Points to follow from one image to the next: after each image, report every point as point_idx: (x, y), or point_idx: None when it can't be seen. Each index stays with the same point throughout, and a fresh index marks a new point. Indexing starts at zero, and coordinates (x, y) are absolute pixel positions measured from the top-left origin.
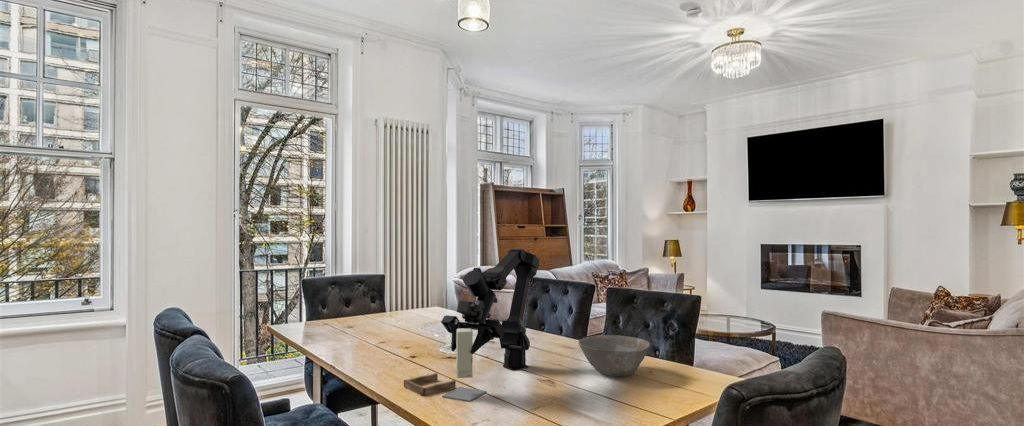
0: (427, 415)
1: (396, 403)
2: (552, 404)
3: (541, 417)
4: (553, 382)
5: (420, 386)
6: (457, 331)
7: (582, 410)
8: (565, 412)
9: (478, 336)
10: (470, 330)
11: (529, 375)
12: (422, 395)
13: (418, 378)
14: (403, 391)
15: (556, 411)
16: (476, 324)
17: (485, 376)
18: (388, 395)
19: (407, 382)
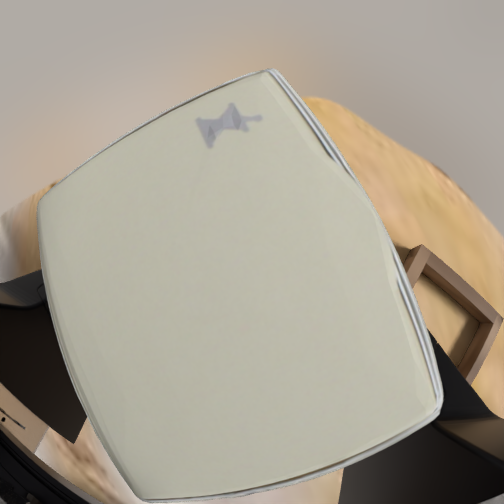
0: (309, 106)
1: (438, 171)
2: (35, 267)
3: (54, 182)
4: (63, 438)
5: (439, 268)
6: (316, 123)
7: (4, 245)
8: (22, 225)
9: (40, 280)
10: (61, 281)
11: (135, 500)
12: (412, 249)
13: (475, 359)
14: (476, 277)
15: (31, 225)
16: (15, 496)
17: (264, 499)
18: (489, 231)
19: (489, 305)
